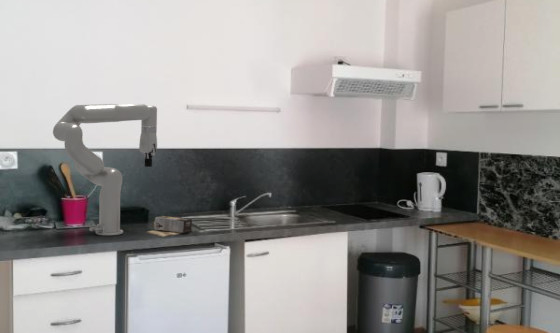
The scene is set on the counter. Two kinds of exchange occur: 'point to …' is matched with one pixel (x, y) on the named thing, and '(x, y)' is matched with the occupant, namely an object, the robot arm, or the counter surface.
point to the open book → (163, 233)
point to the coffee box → (173, 224)
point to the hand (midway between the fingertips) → (148, 166)
